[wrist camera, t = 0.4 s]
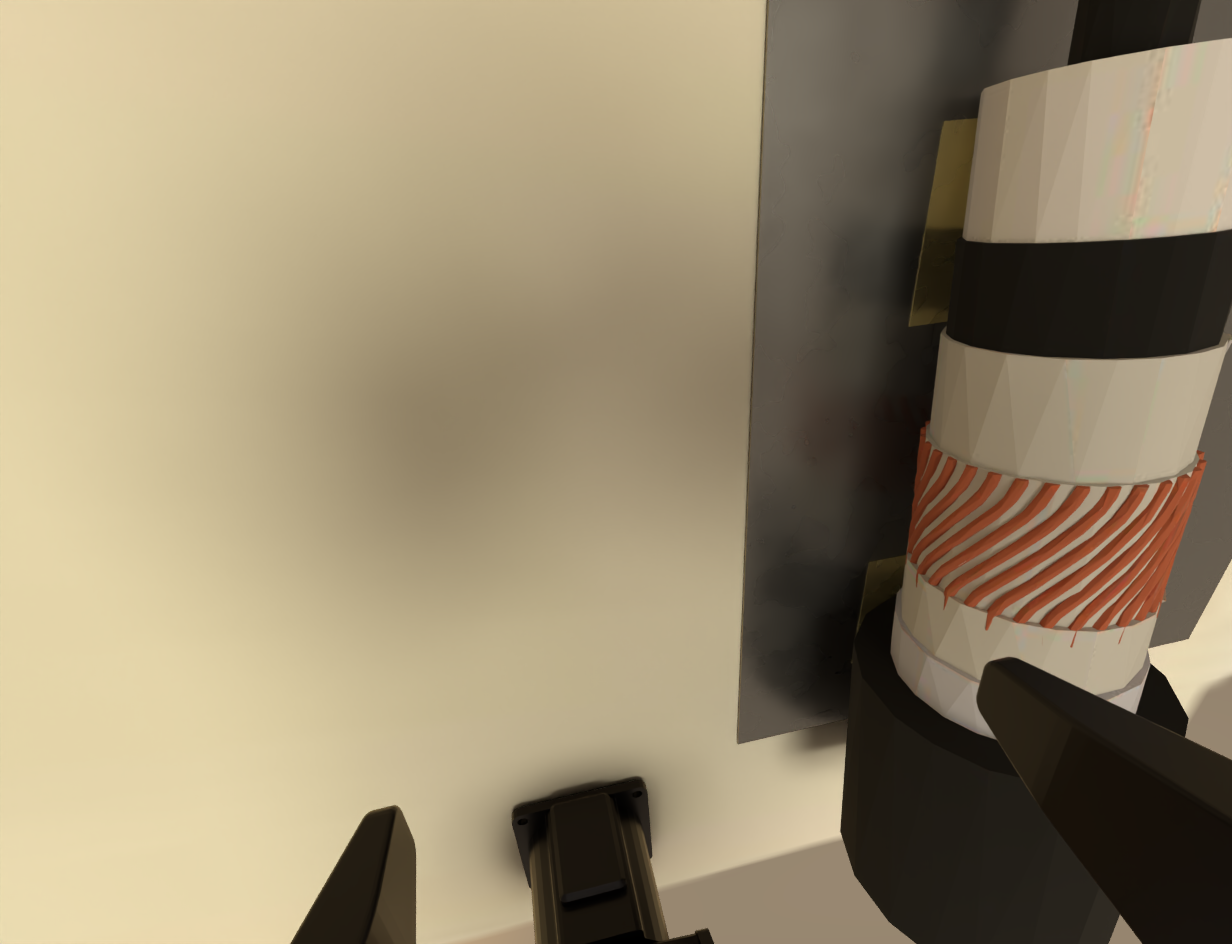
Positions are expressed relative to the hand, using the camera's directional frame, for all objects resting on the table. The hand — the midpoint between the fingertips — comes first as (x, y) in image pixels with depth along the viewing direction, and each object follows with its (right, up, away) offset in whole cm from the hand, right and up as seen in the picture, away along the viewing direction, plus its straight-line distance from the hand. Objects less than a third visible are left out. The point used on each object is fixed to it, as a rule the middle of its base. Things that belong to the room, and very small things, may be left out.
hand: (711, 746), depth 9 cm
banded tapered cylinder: (+11, +5, +14) cm, 19 cm away
